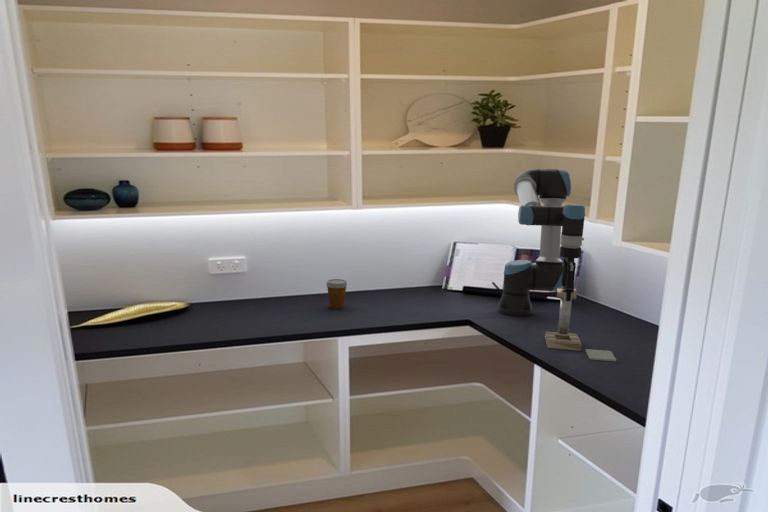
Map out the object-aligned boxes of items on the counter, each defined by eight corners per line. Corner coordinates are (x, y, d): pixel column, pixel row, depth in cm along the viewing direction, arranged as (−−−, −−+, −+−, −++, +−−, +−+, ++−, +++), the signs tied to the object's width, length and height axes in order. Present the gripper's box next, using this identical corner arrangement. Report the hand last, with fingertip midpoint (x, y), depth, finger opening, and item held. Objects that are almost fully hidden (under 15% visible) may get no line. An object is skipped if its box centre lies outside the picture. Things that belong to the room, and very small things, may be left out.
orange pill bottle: (340, 303, 263) (341, 278, 261) (350, 308, 255) (351, 282, 253) (322, 305, 258) (322, 280, 256) (332, 310, 250) (332, 284, 248)
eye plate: (544, 337, 221) (545, 331, 221) (576, 340, 219) (576, 333, 219) (547, 347, 210) (548, 341, 209) (581, 350, 208) (581, 344, 207)
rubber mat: (585, 350, 208) (585, 349, 208) (610, 352, 206) (611, 351, 206) (589, 359, 199) (589, 357, 199) (616, 361, 197) (616, 359, 197)
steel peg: (552, 329, 218) (556, 286, 214) (571, 330, 217) (575, 287, 213) (554, 335, 211) (558, 291, 208) (574, 336, 210) (578, 292, 206)
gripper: (586, 251, 197) (580, 314, 201) (577, 242, 216) (572, 299, 221) (563, 250, 198) (558, 313, 203) (557, 241, 217) (552, 298, 222)
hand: (565, 306), depth 212 cm, fingers closed on steel peg, 7 cm apart
